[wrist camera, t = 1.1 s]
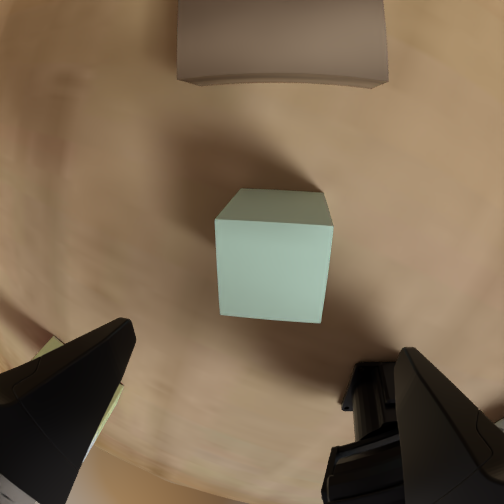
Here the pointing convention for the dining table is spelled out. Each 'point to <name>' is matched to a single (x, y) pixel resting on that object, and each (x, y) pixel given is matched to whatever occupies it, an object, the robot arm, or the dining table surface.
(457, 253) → the dining table surface
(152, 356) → the dining table surface
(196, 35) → the walnut base
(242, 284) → the green block
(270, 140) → the dining table surface
